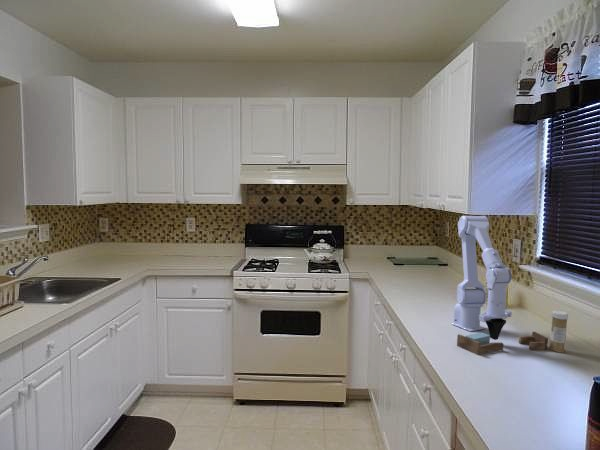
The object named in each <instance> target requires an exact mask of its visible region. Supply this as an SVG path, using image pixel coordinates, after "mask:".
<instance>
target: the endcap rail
mask: <svg viewBox="0 0 600 450" xmlns="http://www.w3.org/2000/svg"><path fill="white" fill-rule="evenodd" d="M456 342H457V343H456V347H458V348H461V349H463V350H465V351H468V352H470V353H473V354H475V355H477V356H478V355H482V354H485V353H490V352H491V353H492V352H495V351H496V352H498V351H499V350H504V343H503V342H499V341H498V342H497V341H495V342H493V341H492V342H490V343H488V344H484V345H480V342H478V341H475V340H473V339H470V338H468V337H466V335H463V334H459V333H458V334H457V340H456ZM494 350H495V351H494ZM497 350H498V351H497Z"/></svg>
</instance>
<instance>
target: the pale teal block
mask: <svg viewBox="0 0 600 450" xmlns="http://www.w3.org/2000/svg"><path fill="white" fill-rule="evenodd" d="M465 337H468V338H470V339H473V340H475V341H478V342H480V345H484V344H488V343H491V338H490V334H488V333H484V332H476V333H473V334H468V335H465Z"/></svg>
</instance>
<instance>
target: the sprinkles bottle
mask: <svg viewBox="0 0 600 450" xmlns="http://www.w3.org/2000/svg"><path fill="white" fill-rule="evenodd" d="M551 316H552V317H551V318H552V319H551V329H550V330H551V331H550V342H549V343H550V344H549V345H550V346H549V349H550V350H551V351H554V352H556V353H564V352H565V351H566V349H565V347H566V340H567V339H566V337H567V323H568V319H569V313H568V312H566V311H563V310H552V313H551Z"/></svg>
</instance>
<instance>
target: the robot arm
mask: <svg viewBox="0 0 600 450" xmlns="http://www.w3.org/2000/svg"><path fill="white" fill-rule="evenodd" d="M457 229H458V230H457V233H458V237H459V238H460V239H461V250H462V251H461V252H462V266H463V268H462V269H463V281H461V282H460V283H458V284H457V288H456V289H457V291H456V300H457V303H456V304H455V306H454V307H453V308H454V309H453V321H452V323H451V324H452V325H453V326H455V327H458V328H461V329H463V330H466V331H469V332H477V331H480V330H485V327H483V326H482V325H480V324H481V323H480V322H482V323H485V324H486V326H487V328H488V335H490V340H491V339H492V340H494V341H497V340H498V339H499V337H500V334H501V331H502V329H503V328H504V327H505V325H506V323H507V320H506V319H508V318H511V317H512V315H513V314H512V311H511V310H508V309H506V305H507V304H506V303H507V290H508V284H510V283H511V280H512V271H511V268H510V267H508V266H507V265H506V264H504V263H503V261H502V260H503V259H502V258H501V256H500V254H499V251H498V250H497V249H495V248H493V243H492V240H491V238H490V234H489V229H490V222H489V219H488V217H487V216H486V215H479V216H478V215H477V216H476V215H462V216H460V217H459V220H458V222H457ZM476 240H477V242H478V244H479V247H480V248H481V250H482V253H481V259H482V261H483V264H484V266H485V268H486V273H485V278H486V286H487V288H488V290H487V291H488V292H486V289H485V285H484V284H483V283H482V282H480V281H479V273H478V262H477V261H478V259H477V245H476ZM487 293H488V294H487ZM486 302H487V305H486V311H485V312H484V313H482V314H481V309H482V308H483V307H484V305H485V304H486Z"/></svg>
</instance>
